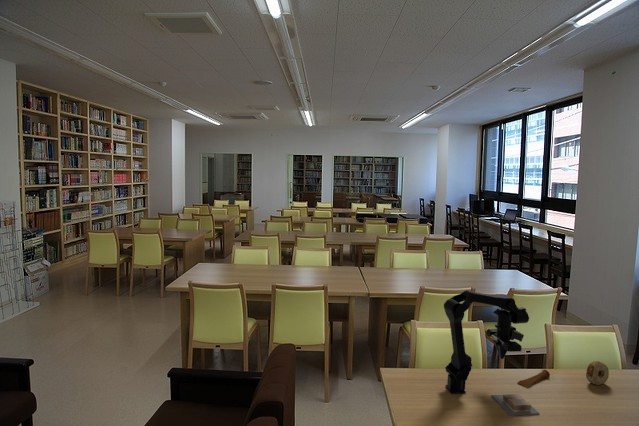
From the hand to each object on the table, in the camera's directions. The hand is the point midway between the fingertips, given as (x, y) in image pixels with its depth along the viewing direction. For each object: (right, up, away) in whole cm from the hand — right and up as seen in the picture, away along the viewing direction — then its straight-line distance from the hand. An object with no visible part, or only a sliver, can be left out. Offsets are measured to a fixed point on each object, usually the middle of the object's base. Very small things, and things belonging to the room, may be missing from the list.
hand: (501, 358), depth 181 cm
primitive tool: (+17, -13, +5) cm, 22 cm away
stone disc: (+45, -13, +4) cm, 47 cm away
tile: (-2, -11, -12) cm, 17 cm away
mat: (-2, -13, -15) cm, 20 cm away
